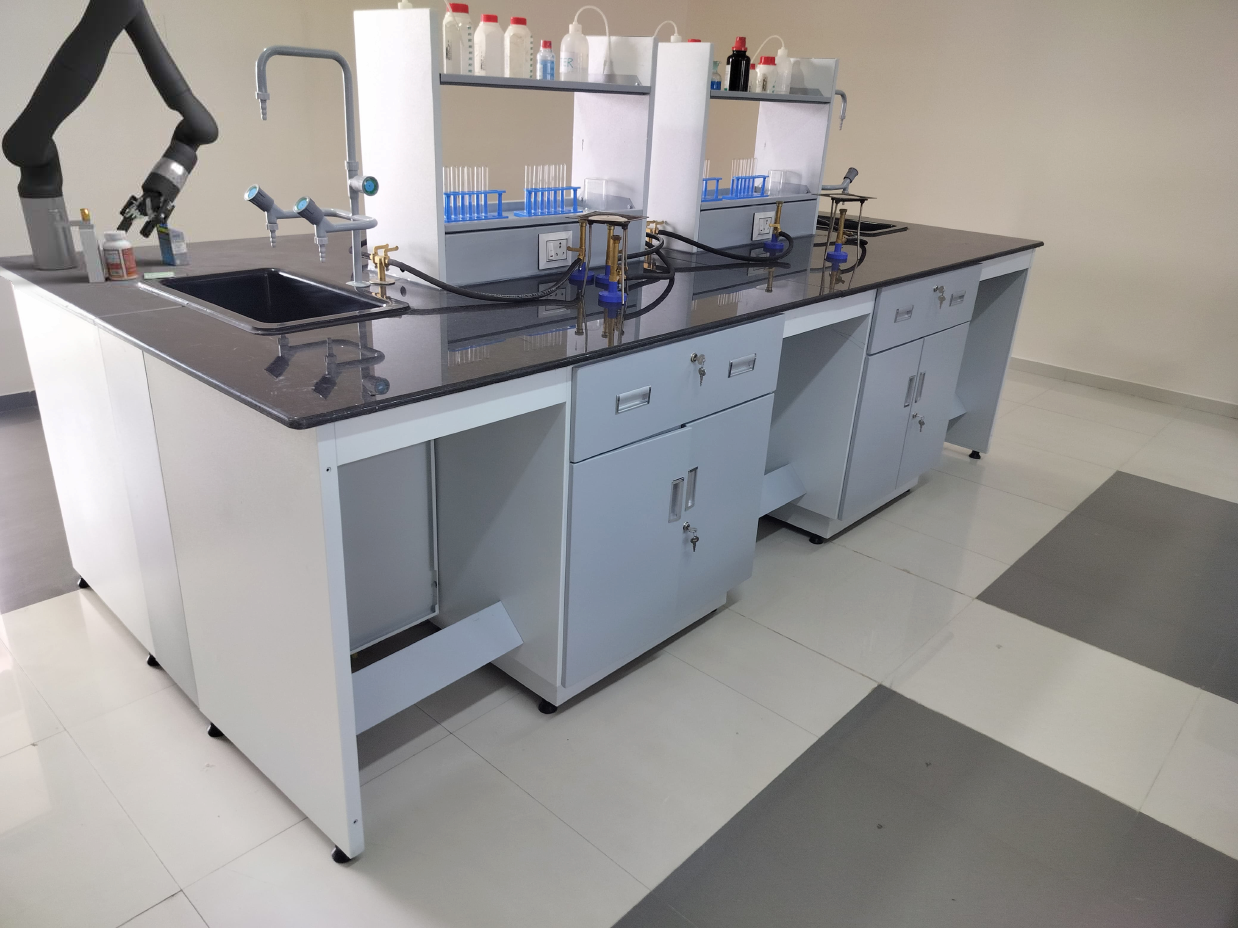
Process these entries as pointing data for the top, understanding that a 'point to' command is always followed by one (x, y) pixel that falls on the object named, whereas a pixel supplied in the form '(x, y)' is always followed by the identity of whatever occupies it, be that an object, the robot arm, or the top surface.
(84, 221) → the clip
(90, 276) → the socket panel
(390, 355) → the top surface
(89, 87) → the robot arm
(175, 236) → the label tape box
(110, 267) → the pill bottle
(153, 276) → the mat
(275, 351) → the top surface
